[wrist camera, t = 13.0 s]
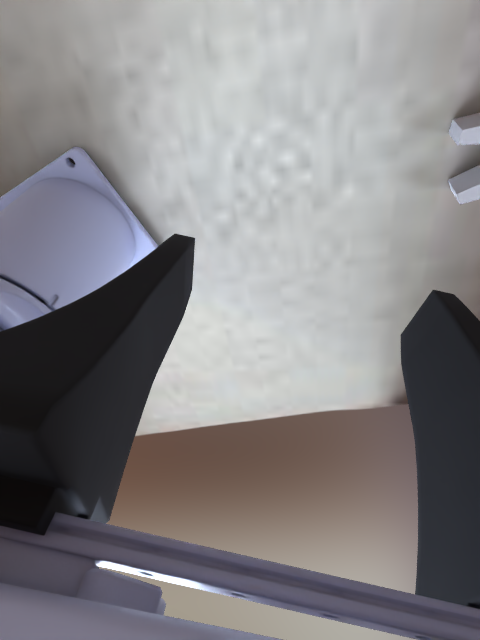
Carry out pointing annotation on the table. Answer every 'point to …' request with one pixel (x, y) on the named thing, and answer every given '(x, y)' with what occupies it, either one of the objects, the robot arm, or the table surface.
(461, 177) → the pliers
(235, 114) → the table surface
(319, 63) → the table surface
